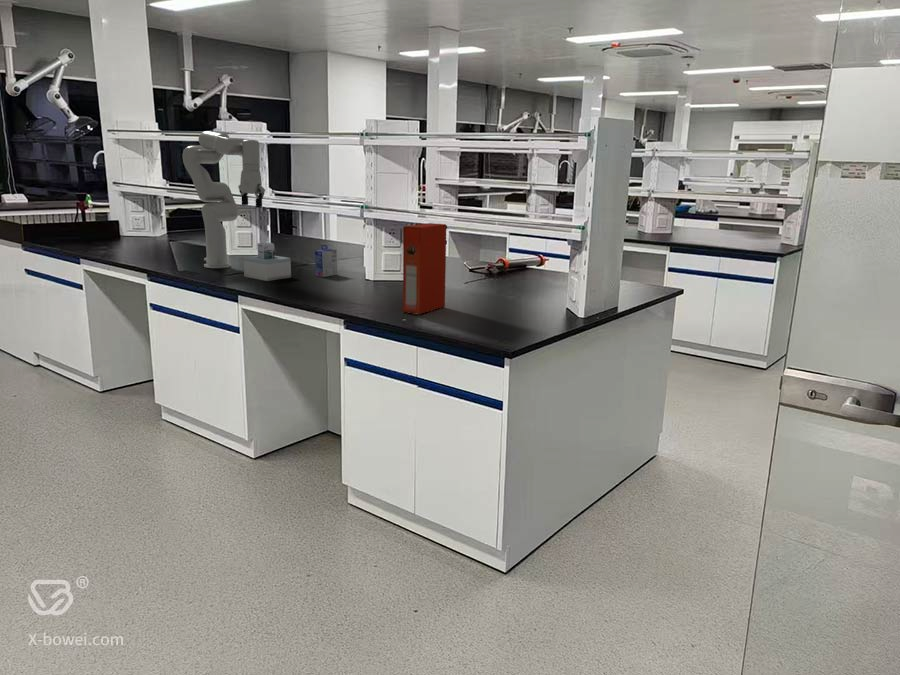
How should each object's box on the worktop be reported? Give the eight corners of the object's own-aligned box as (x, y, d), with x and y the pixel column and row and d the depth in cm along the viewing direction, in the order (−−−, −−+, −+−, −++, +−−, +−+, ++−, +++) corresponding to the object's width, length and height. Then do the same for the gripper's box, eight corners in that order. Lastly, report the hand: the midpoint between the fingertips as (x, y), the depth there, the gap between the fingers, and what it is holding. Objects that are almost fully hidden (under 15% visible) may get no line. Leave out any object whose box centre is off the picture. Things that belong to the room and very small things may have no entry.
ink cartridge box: (329, 273, 331) (329, 243, 327) (338, 274, 328) (337, 244, 324) (314, 276, 323) (314, 245, 320) (323, 277, 320) (322, 246, 317)
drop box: (244, 276, 316) (243, 257, 314) (268, 273, 327) (267, 254, 325) (267, 281, 307) (266, 261, 305) (291, 277, 318) (290, 258, 316)
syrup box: (264, 275, 313) (262, 244, 309) (258, 273, 317) (257, 242, 314) (275, 274, 317) (274, 243, 313) (269, 272, 321) (268, 242, 317)
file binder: (402, 312, 254) (403, 226, 246) (427, 304, 269) (429, 222, 260) (420, 315, 250) (422, 227, 242) (444, 307, 265) (447, 224, 256)
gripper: (232, 166, 311) (233, 204, 316) (257, 169, 301) (257, 208, 306) (245, 166, 317) (246, 203, 322) (270, 169, 307) (270, 207, 312)
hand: (251, 206), depth 314 cm, fingers open, 9 cm apart
